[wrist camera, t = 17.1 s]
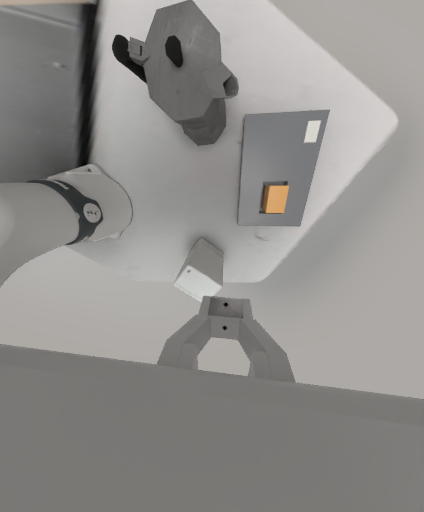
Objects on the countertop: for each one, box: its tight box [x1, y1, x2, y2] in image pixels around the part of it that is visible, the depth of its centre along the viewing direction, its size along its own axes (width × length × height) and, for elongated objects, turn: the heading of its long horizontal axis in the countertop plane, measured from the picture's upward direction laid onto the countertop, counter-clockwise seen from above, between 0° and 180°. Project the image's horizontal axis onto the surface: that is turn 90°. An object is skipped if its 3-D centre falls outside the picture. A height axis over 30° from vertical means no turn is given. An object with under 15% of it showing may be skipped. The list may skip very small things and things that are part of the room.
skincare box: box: [173, 238, 224, 303], centre depth 36 cm, size 8×7×16 cm
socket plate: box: [237, 110, 330, 226], centre depth 31 cm, size 14×20×4 cm
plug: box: [262, 185, 289, 213], centre depth 32 cm, size 4×5×6 cm
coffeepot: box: [112, 0, 239, 146], centre depth 22 cm, size 15×9×18 cm, turn 73°
